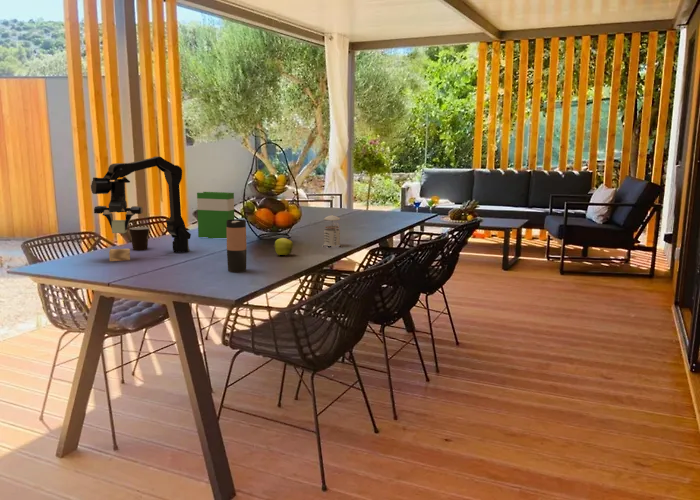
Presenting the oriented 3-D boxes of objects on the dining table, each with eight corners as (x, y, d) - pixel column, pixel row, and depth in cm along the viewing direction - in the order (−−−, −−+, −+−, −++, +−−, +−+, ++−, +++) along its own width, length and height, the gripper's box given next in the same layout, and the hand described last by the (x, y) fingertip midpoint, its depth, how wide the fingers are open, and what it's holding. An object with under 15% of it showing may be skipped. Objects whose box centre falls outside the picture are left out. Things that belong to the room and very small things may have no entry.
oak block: (130, 257, 262) (129, 248, 261) (129, 260, 254) (129, 251, 254) (110, 258, 259) (110, 249, 258) (109, 261, 252) (109, 252, 251)
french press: (336, 243, 303) (337, 194, 299) (346, 247, 293) (347, 196, 289) (319, 245, 299) (319, 195, 295) (328, 248, 289) (328, 197, 285)
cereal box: (198, 237, 318) (196, 192, 314) (205, 235, 325) (203, 191, 321) (228, 239, 314) (227, 193, 309) (234, 237, 321) (233, 192, 316)
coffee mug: (143, 251, 275) (142, 229, 273) (126, 250, 277) (125, 229, 275) (156, 247, 286) (155, 226, 285) (140, 246, 288) (139, 226, 286)
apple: (273, 253, 273) (273, 236, 272) (293, 254, 273) (293, 236, 272) (271, 257, 266) (271, 239, 264) (292, 257, 266) (292, 239, 264)
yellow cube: (126, 231, 258) (126, 220, 257) (124, 233, 253) (124, 221, 252) (114, 231, 257) (114, 220, 256) (112, 233, 252) (111, 221, 251)
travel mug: (241, 267, 241) (240, 218, 238) (250, 271, 235) (249, 220, 232) (223, 270, 237) (222, 220, 233) (232, 273, 231) (231, 222, 227)
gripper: (89, 194, 243) (91, 232, 245) (137, 195, 246) (138, 232, 248) (96, 192, 254) (98, 229, 256) (142, 193, 257) (143, 229, 259)
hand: (119, 230), depth 255 cm, fingers closed on yellow cube, 5 cm apart
